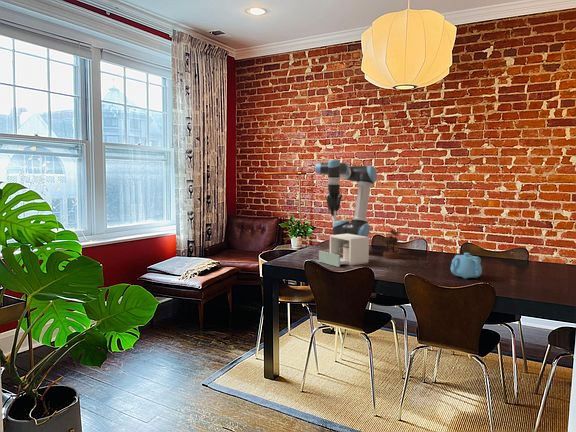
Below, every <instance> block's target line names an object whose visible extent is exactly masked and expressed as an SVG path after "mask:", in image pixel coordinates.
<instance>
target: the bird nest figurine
mask: <svg viewBox="0 0 576 432" xmlns="http://www.w3.org/2000/svg"><path fill="white" fill-rule="evenodd" d="M390 234H391V235H388V236H385V237H384V238H383V242H384V244H386V245H384V244H381V246H382V247H383V248H385V249H386V250H385V251H384V252H383V254H382V255H383V256H382V258H383V259H385V258H386V259H385V260H398V259H400V253H399V251H400V250H399V249H398V246H399V244H398V242H399V241H398V240H399V239H398V237H399V235H401V233H399V232H398V231H396V230H394V229H393V228H391V229H390ZM393 235H394V236H393ZM389 250H391V251H389Z"/></svg>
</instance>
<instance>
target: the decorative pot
mask: <svg viewBox="0 0 576 432" xmlns="http://www.w3.org/2000/svg"><path fill="white" fill-rule="evenodd" d="M481 259H482V258H481V257H479V256H474V255H472V254H470V252H463V254H455V256H454V257H453V259H452V260H451V264H450V271H451V272H450V273H452V274H453V275H454V276H455V277H461V278H462V279H464V280H466V279H469V278H470V279H471V278H472V279H477V278H478V277H480V276H481V275H482V273H483V269H482V265H481V262H482V260H481Z"/></svg>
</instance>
